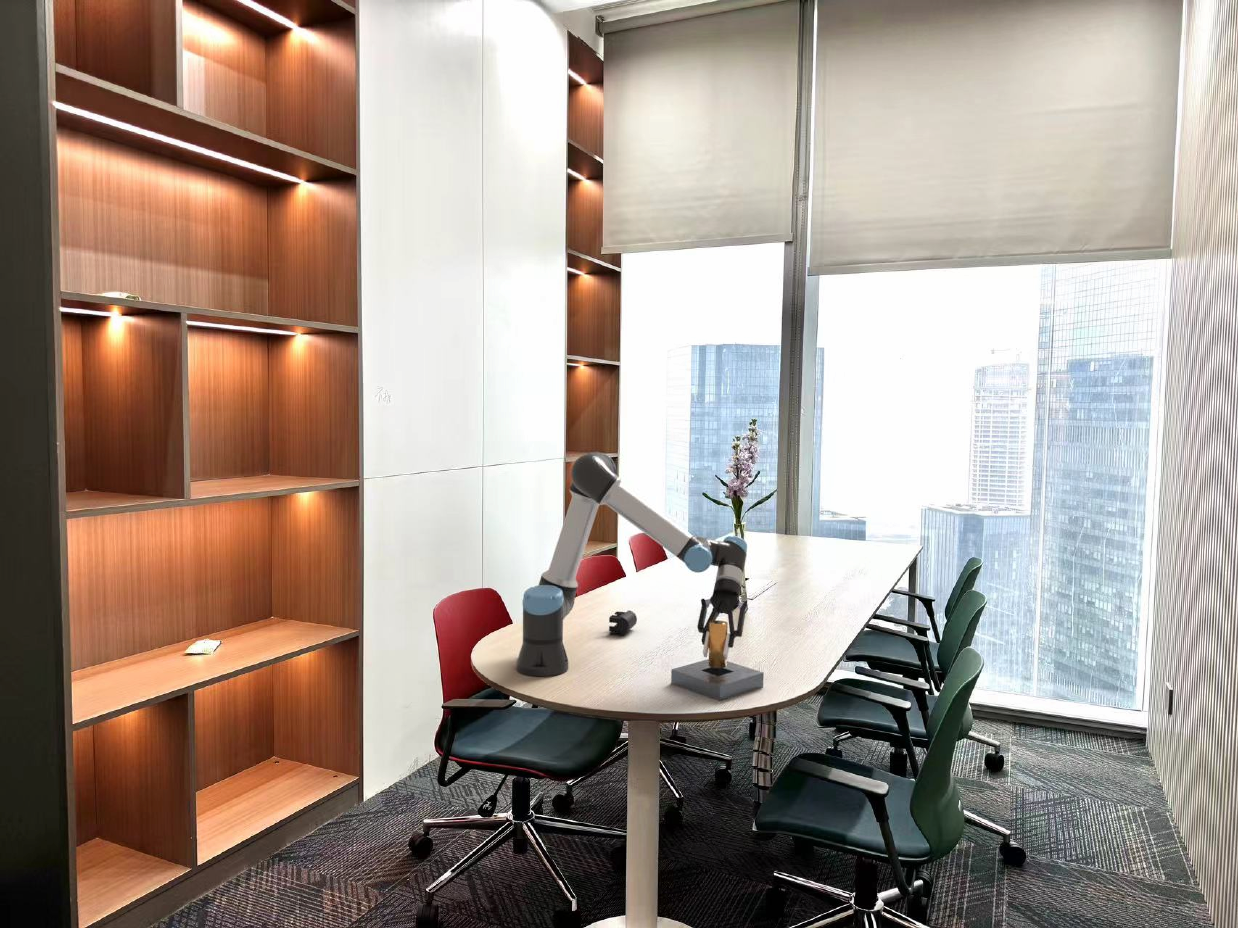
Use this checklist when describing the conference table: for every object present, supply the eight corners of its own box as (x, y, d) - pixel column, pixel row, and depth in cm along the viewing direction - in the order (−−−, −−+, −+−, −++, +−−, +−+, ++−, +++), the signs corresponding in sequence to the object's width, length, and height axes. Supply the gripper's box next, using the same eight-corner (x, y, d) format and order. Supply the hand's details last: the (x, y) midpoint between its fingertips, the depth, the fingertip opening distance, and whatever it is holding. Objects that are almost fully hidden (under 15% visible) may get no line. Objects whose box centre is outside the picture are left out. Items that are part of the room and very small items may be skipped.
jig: (719, 700, 219) (720, 685, 218) (671, 683, 232) (671, 669, 232) (763, 686, 230) (763, 672, 230) (714, 670, 244) (714, 657, 244)
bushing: (718, 669, 227) (719, 625, 227) (704, 664, 231) (705, 622, 230) (730, 665, 231) (731, 622, 230) (716, 661, 234) (717, 619, 234)
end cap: (628, 637, 279) (629, 617, 278) (608, 635, 281) (608, 615, 280) (636, 630, 288) (637, 610, 288) (617, 628, 290) (617, 608, 290)
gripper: (760, 594, 241) (749, 666, 227) (699, 589, 247) (685, 659, 233) (757, 579, 236) (746, 652, 222) (695, 574, 242) (680, 645, 227)
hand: (715, 655), depth 227 cm, fingers closed on bushing, 5 cm apart
